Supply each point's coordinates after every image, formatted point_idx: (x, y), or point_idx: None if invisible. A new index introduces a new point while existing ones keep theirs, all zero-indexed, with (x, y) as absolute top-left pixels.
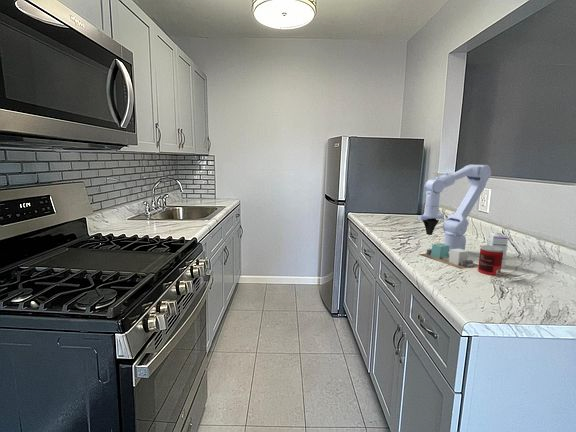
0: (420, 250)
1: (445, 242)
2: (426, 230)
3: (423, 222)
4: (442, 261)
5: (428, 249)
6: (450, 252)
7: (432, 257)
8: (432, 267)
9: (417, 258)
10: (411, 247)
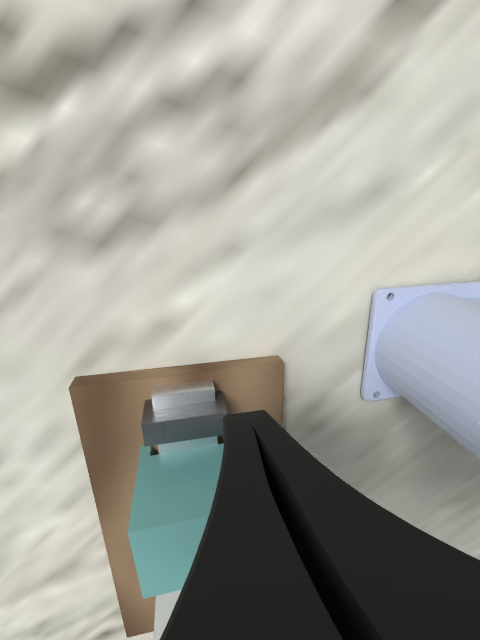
0: (248, 221)
1: (431, 360)
2: (225, 460)
3: (164, 632)
4: (127, 542)
5: (159, 422)
6: (154, 634)
7: (127, 470)
8: (17, 564)
9: (43, 406)
10: (249, 90)
